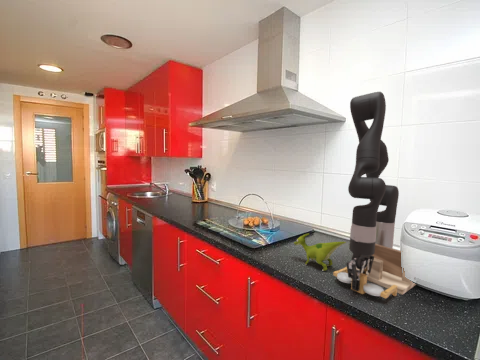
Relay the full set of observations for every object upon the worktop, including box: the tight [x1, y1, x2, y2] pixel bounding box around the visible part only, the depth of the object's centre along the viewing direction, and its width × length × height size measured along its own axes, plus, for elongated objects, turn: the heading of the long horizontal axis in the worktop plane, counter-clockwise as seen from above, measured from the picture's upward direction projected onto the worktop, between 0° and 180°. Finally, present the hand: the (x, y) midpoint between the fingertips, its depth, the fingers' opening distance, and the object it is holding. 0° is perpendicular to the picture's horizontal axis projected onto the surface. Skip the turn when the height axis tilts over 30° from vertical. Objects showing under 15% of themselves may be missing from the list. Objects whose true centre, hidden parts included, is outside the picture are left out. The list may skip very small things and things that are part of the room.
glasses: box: [332, 266, 398, 299], centre depth 82 cm, size 11×18×6 cm, turn 37°
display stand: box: [351, 244, 417, 295], centre depth 90 cm, size 12×19×10 cm, turn 37°
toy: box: [293, 233, 347, 272], centre depth 99 cm, size 8×21×15 cm, turn 51°
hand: (358, 287), depth 81 cm, fingers open, 3 cm apart
